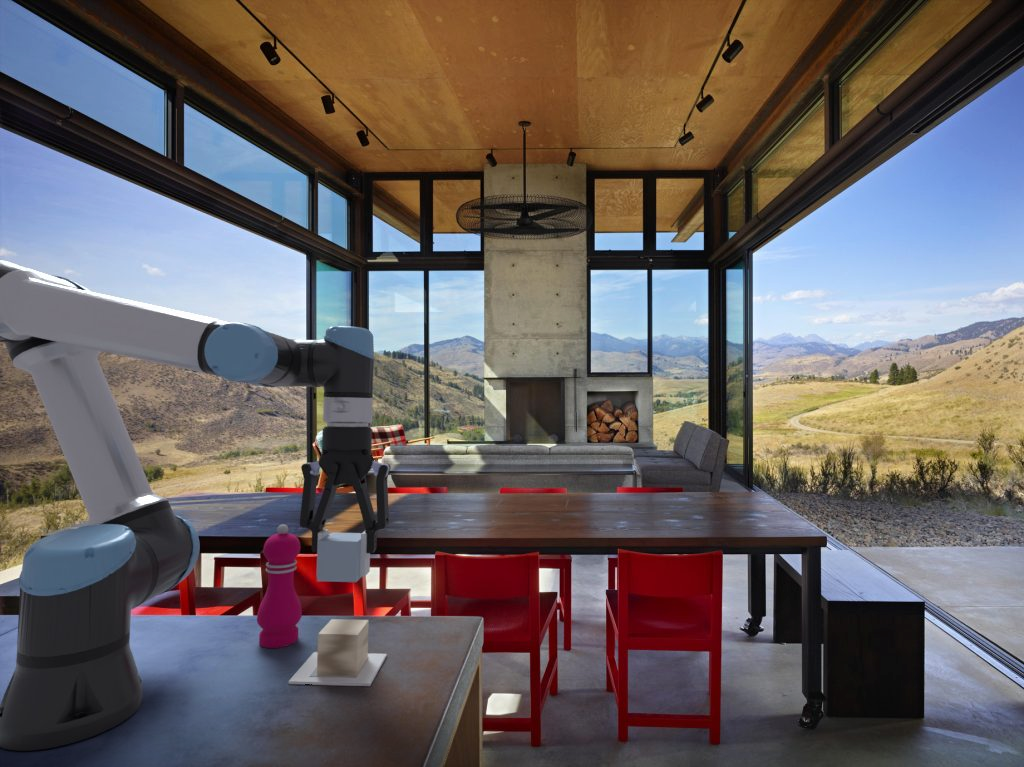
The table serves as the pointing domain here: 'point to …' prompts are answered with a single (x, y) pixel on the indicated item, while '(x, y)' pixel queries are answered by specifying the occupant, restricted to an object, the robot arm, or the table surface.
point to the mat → (363, 678)
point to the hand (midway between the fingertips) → (343, 573)
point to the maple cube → (342, 647)
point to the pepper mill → (280, 592)
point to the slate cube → (339, 557)
